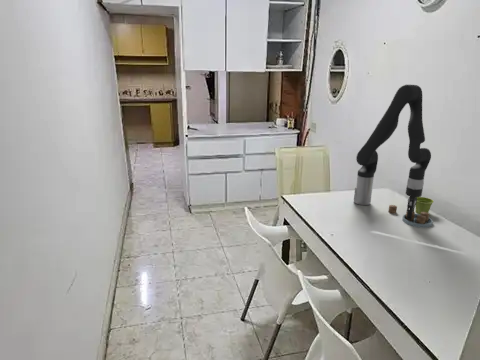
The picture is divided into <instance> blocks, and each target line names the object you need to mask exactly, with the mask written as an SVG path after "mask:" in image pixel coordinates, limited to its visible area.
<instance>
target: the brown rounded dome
mask: <svg viewBox="0 0 480 360" xmlns="http://www.w3.org/2000/svg"><path fill="white" fill-rule="evenodd" d="M405 214H406V218H405V219H406V220H408V221H410V222H412V221H414V215H415V214H416V211H414V212H412V218H411V219H407V211H406V213H405Z"/></svg>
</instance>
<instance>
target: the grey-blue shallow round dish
mask: <svg viewBox="0 0 480 360" xmlns="http://www.w3.org/2000/svg"><path fill="white" fill-rule="evenodd" d="M417 215H420V214H417V213H415V215H414V221H412V222H410V221H408V220H406V219H405V218H406V213H405V214H403V215H402V221H403V223H404V224H407V225H409V226H411V227H415V228H430V227H432V226H433V224H434V223H433V222H434V221H433V219H432V218H431V217H429V219H428V223H425V224H418V223H416V220H417Z"/></svg>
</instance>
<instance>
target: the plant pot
mask: <svg viewBox="0 0 480 360" xmlns="http://www.w3.org/2000/svg"><path fill="white" fill-rule="evenodd" d="M434 201H435V200H433V199H432V198H428V197H425V196H421V197H417V203H416V205H415V214H421V212H427V213H429V212H430V210H431V207H432V205H433V203H434ZM429 214H430V213H429Z"/></svg>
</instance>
